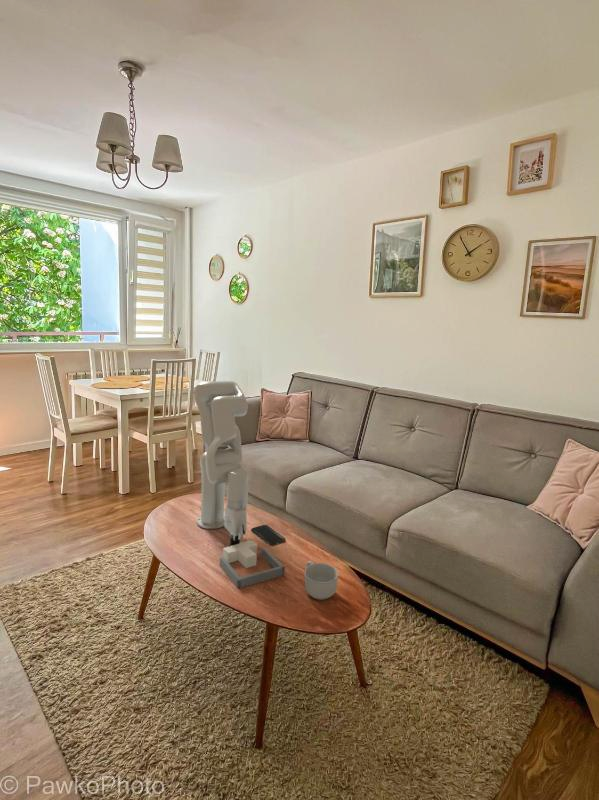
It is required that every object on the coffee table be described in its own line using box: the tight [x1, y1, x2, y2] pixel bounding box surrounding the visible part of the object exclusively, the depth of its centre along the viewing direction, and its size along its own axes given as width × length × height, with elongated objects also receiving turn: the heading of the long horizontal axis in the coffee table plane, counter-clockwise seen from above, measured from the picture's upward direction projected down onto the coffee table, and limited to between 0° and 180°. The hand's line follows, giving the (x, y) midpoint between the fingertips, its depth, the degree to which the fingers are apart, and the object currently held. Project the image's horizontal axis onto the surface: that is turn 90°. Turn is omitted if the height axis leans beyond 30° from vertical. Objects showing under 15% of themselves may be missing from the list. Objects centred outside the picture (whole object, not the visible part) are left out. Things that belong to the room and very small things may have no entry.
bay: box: [219, 546, 286, 589], centre depth 154 cm, size 15×17×3 cm
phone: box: [250, 524, 286, 546], centre depth 179 cm, size 8×1×15 cm
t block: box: [222, 539, 258, 569], centre depth 160 cm, size 10×12×4 cm
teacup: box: [304, 560, 339, 601], centre depth 144 cm, size 14×11×8 cm
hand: (234, 548), depth 165 cm, fingers closed
